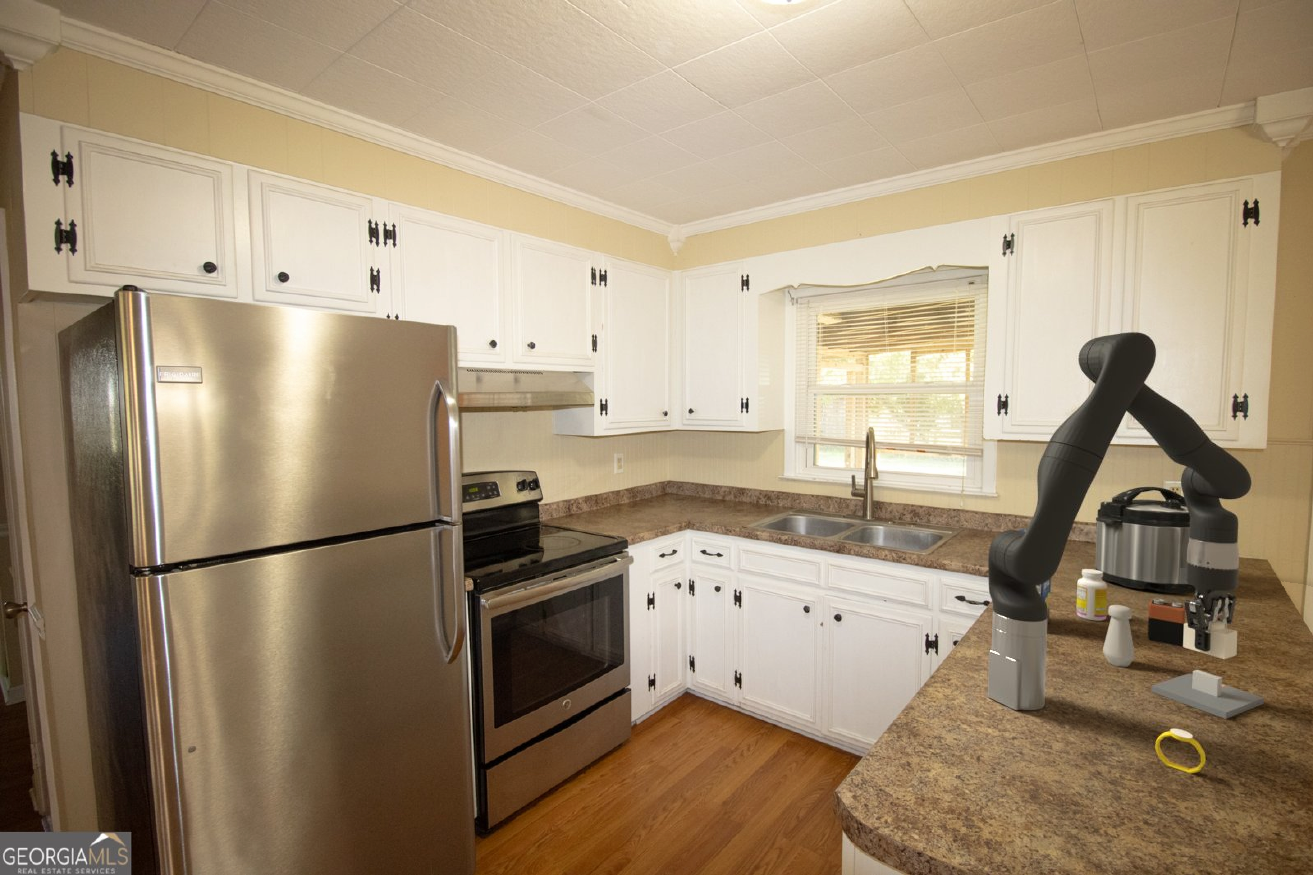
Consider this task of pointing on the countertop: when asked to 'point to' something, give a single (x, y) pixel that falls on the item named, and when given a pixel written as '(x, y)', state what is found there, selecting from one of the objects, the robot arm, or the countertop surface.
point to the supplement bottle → (1092, 595)
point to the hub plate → (1207, 694)
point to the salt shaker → (1119, 637)
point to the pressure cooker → (1144, 541)
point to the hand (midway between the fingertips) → (1209, 647)
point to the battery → (1166, 622)
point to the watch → (1181, 736)
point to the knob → (1214, 640)
